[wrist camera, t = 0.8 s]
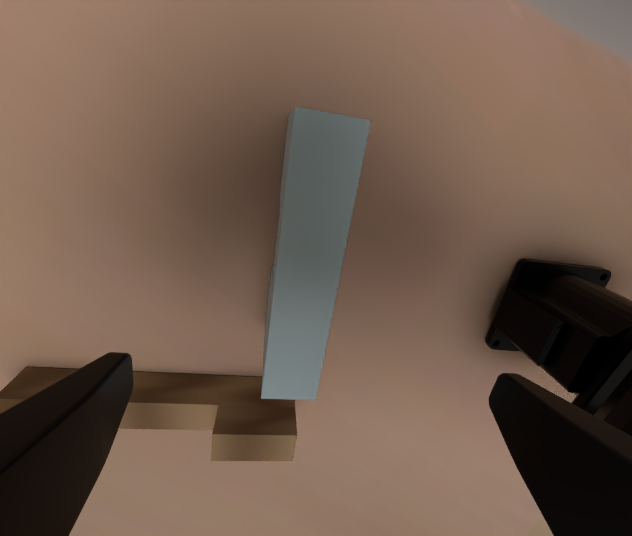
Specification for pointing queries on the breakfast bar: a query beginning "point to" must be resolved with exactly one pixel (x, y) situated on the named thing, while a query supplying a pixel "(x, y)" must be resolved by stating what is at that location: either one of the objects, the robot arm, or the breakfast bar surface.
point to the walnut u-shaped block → (193, 410)
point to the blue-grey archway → (309, 247)
